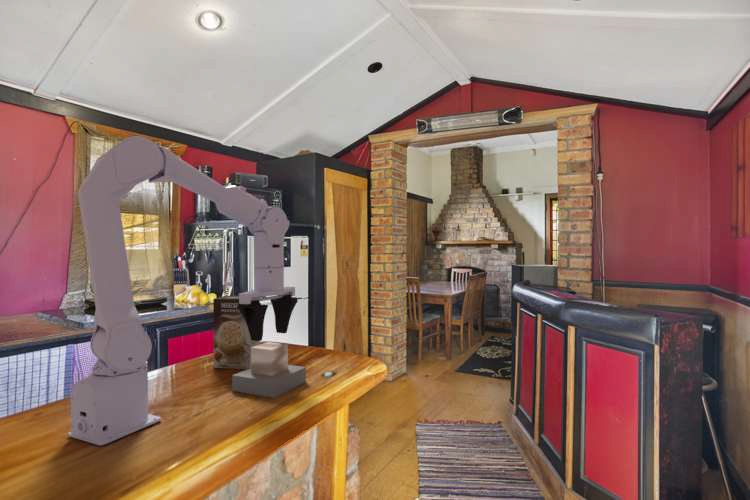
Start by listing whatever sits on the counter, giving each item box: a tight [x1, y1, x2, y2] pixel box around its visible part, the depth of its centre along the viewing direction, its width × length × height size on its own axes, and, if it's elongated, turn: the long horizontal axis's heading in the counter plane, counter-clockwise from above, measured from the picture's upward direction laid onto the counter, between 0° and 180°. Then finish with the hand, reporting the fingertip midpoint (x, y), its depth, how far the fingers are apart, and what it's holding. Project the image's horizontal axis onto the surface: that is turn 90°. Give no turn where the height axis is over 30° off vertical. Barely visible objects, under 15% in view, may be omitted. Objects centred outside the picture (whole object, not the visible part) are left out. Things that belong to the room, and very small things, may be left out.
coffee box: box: [212, 295, 261, 370], centre depth 96 cm, size 9×6×16 cm
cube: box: [251, 341, 289, 376], centre depth 81 cm, size 5×5×5 cm
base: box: [231, 364, 307, 399], centre depth 81 cm, size 10×10×3 cm
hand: (269, 336), depth 81 cm, fingers open, 7 cm apart
